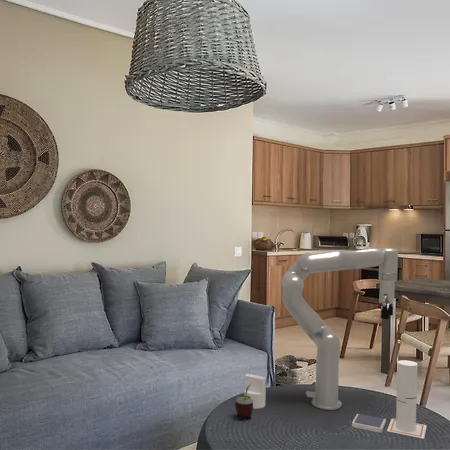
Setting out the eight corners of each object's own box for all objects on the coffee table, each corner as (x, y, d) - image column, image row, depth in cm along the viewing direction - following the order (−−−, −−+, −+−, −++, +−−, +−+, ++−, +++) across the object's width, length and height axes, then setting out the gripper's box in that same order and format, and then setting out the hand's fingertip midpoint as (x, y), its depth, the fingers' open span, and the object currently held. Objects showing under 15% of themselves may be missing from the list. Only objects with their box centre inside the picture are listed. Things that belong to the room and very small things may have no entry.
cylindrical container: (417, 432, 182) (419, 366, 182) (397, 430, 184) (399, 364, 183) (413, 425, 189) (415, 361, 189) (394, 423, 191) (396, 359, 190)
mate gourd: (240, 412, 198) (240, 376, 198) (257, 416, 195) (258, 379, 195) (231, 419, 192) (232, 381, 192) (249, 423, 188) (250, 384, 188)
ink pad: (351, 426, 187) (352, 422, 187) (357, 417, 196) (357, 412, 196) (381, 433, 182) (381, 428, 182) (385, 423, 191) (385, 418, 191)
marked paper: (386, 431, 184) (386, 430, 184) (391, 419, 195) (391, 418, 195) (423, 438, 178) (424, 438, 178) (426, 425, 189) (426, 425, 189)
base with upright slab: (269, 403, 209) (269, 375, 209) (259, 410, 201) (259, 381, 201) (250, 399, 214) (251, 371, 214) (240, 405, 206) (240, 377, 206)
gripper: (382, 274, 218) (381, 312, 218) (375, 278, 203) (373, 319, 203) (400, 275, 214) (399, 314, 215) (393, 279, 199) (392, 321, 199)
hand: (386, 316), depth 209 cm, fingers open, 9 cm apart
